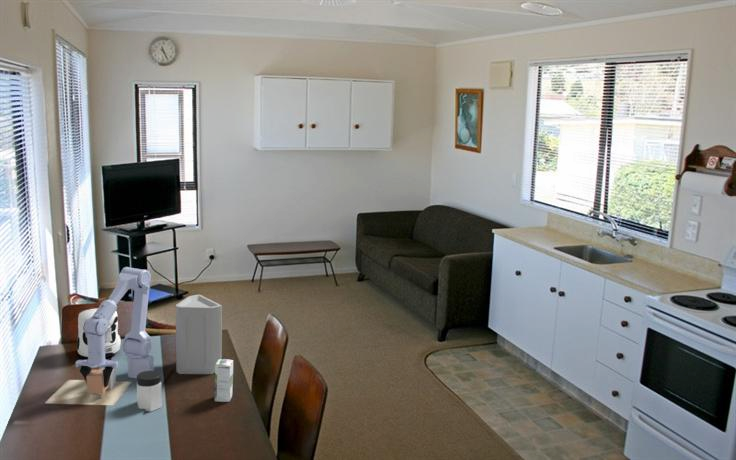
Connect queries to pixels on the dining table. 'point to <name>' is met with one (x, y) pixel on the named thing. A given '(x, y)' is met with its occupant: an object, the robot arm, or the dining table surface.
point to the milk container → (110, 336)
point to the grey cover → (111, 378)
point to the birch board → (86, 394)
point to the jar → (149, 390)
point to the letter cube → (97, 395)
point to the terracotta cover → (95, 382)
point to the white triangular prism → (198, 335)
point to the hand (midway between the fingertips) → (97, 385)
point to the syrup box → (223, 380)
